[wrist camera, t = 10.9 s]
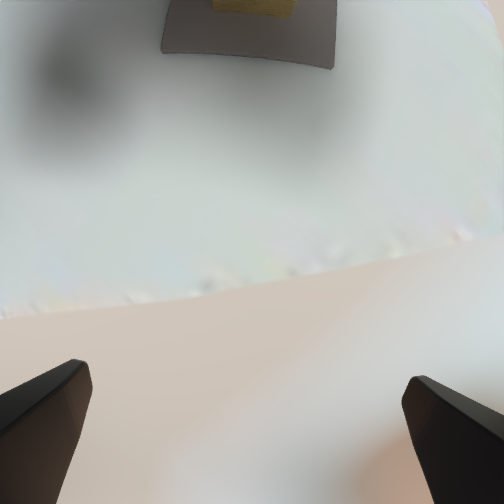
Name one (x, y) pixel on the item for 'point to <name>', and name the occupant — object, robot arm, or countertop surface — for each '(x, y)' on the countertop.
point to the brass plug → (257, 7)
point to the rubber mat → (254, 32)
